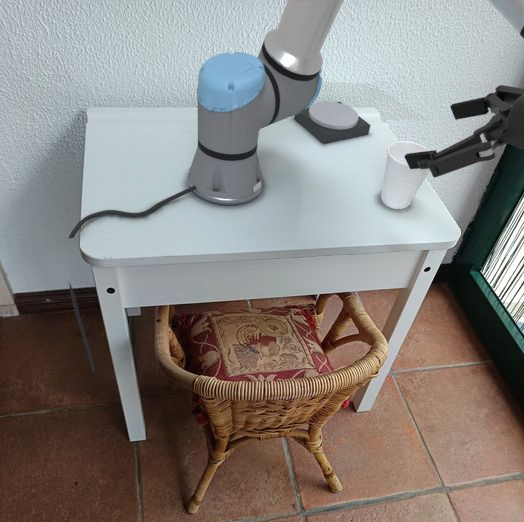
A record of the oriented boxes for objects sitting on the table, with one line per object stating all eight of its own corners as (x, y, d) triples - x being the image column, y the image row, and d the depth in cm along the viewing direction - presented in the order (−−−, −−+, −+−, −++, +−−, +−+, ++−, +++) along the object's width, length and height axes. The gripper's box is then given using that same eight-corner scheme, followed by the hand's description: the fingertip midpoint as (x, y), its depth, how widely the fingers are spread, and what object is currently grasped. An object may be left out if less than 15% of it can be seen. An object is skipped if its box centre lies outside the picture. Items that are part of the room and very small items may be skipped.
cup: (415, 192, 108) (433, 145, 99) (419, 218, 102) (440, 171, 93) (370, 185, 108) (386, 137, 99) (372, 211, 101) (389, 163, 93)
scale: (323, 144, 117) (326, 130, 114) (294, 118, 123) (296, 105, 121) (368, 134, 122) (371, 121, 120) (337, 110, 129) (340, 97, 126)
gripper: (505, 198, 70) (397, 200, 87) (599, 86, 74) (479, 110, 92) (488, 153, 66) (379, 165, 83) (588, 38, 70) (465, 73, 88)
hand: (431, 136), depth 88 cm, fingers open, 13 cm apart
